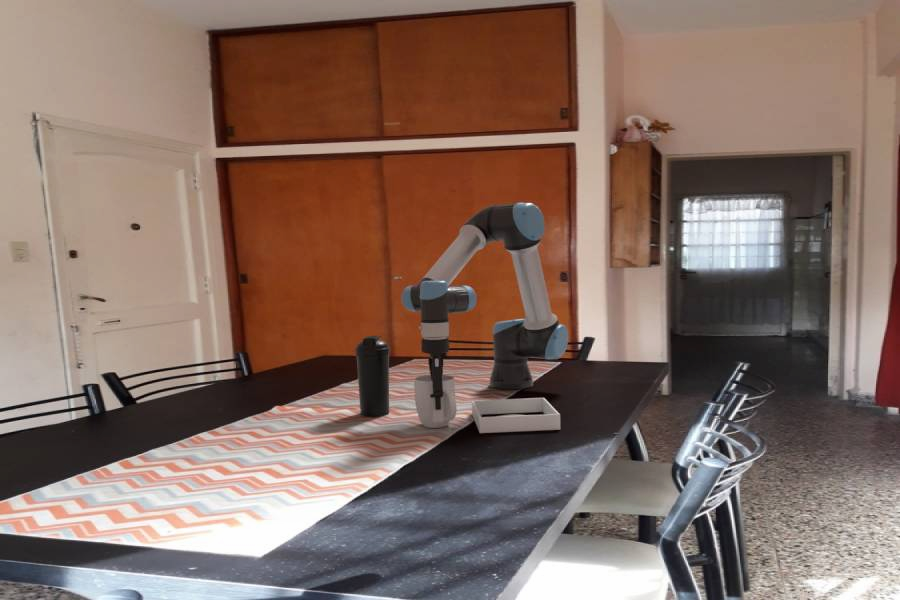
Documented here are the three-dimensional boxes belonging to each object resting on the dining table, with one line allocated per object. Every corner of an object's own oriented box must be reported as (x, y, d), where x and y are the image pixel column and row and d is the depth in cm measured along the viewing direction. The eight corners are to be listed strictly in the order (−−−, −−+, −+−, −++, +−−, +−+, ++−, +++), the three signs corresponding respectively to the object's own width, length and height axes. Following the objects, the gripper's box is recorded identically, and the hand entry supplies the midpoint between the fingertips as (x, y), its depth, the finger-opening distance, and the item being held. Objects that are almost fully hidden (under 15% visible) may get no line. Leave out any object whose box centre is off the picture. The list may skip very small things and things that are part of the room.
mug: (472, 428, 183) (470, 380, 183) (437, 435, 177) (436, 385, 176) (441, 418, 196) (439, 372, 195) (408, 424, 190) (406, 377, 189)
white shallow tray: (472, 414, 199) (471, 400, 199) (544, 411, 201) (544, 397, 200) (479, 433, 178) (479, 417, 178) (560, 429, 180) (560, 414, 179)
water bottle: (394, 409, 209) (392, 334, 207) (388, 417, 199) (385, 338, 197) (362, 409, 210) (359, 334, 208) (354, 417, 200) (351, 339, 198)
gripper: (420, 333, 198) (422, 406, 199) (422, 343, 173) (424, 427, 174) (446, 332, 198) (448, 405, 200) (451, 342, 174) (454, 426, 175)
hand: (437, 415), depth 187 cm, fingers closed on mug, 13 cm apart
